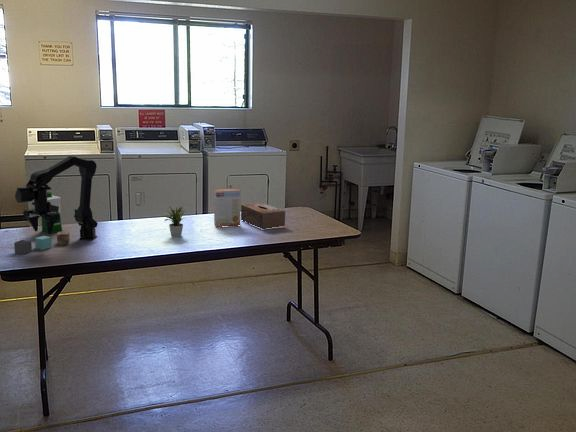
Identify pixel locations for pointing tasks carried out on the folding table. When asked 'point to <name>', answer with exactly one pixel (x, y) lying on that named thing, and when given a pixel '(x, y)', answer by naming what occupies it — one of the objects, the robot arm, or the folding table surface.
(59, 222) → the milk carton
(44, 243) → the teal block
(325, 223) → the folding table surface
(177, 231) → the house plant
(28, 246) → the charcoal block
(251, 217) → the tissue box cover
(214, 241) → the folding table surface
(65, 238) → the walnut block
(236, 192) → the cracker box
